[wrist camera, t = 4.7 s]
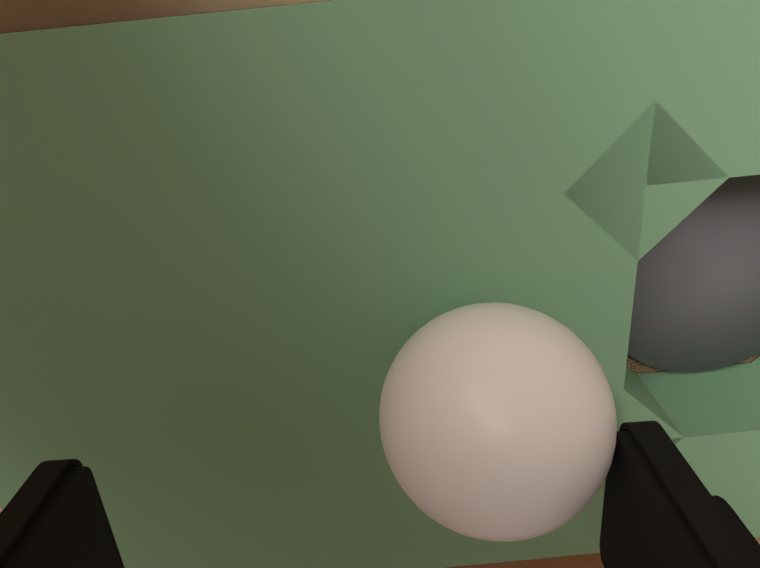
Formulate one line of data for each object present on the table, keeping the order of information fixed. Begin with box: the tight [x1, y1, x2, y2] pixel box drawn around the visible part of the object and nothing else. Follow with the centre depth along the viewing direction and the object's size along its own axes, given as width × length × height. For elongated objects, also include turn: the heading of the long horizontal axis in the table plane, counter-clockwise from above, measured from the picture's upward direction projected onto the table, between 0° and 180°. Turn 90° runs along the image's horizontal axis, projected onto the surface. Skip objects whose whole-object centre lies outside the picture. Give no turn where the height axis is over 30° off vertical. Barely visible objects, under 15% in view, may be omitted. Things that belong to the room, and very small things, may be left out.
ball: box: [379, 302, 617, 542], centre depth 10 cm, size 4×4×4 cm
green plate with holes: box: [0, 0, 760, 568], centre depth 13 cm, size 13×22×2 cm, turn 95°
